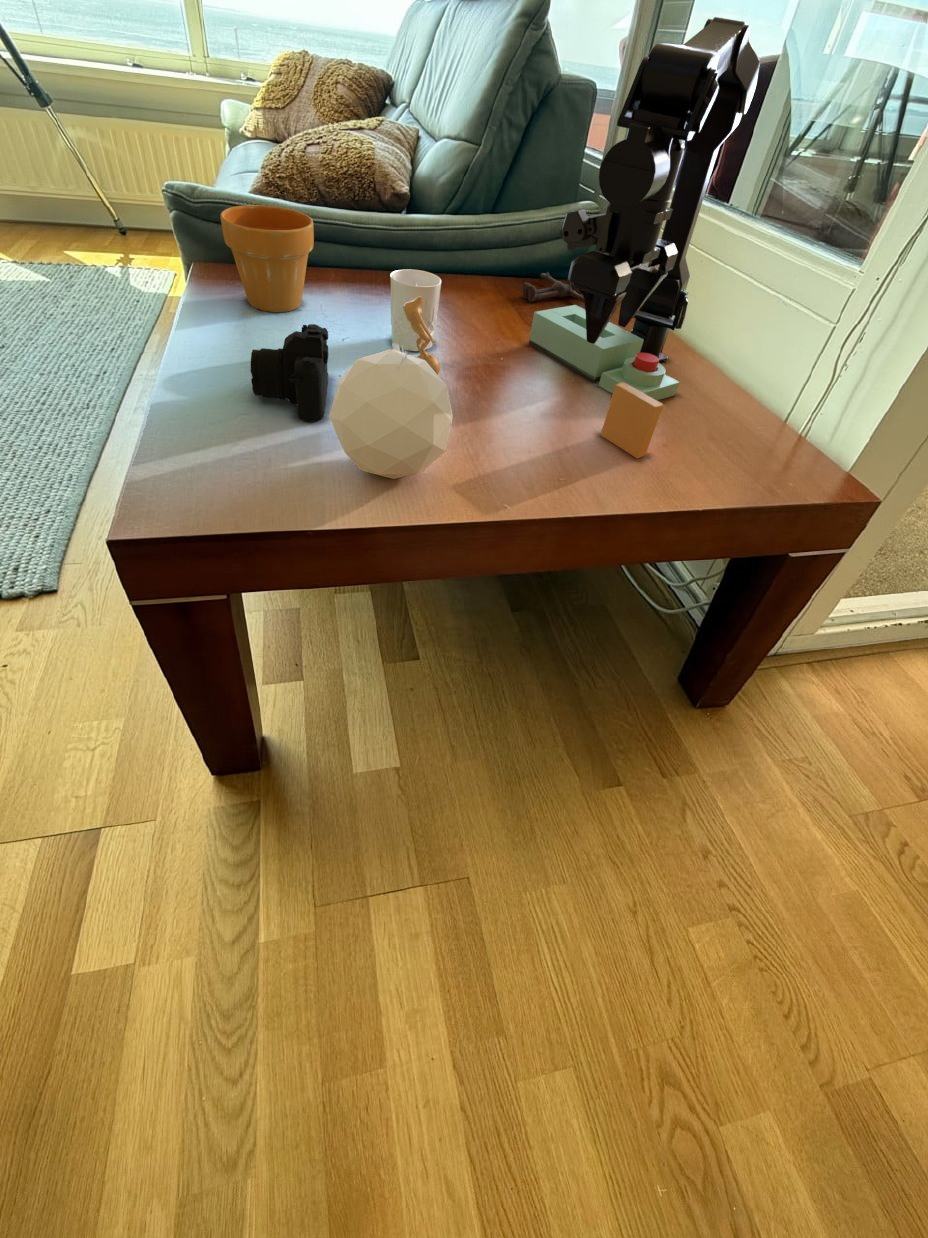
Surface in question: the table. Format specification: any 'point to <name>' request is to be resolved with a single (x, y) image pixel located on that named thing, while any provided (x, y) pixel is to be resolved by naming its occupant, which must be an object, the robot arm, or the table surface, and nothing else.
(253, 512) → the table surface
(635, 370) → the control block
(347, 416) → the geodesic sphere
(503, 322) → the table surface
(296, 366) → the film camera
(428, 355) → the figurine
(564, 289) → the brown humanoid figure
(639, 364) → the button
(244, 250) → the flower pot
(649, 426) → the toast
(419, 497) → the table surface
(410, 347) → the white cup
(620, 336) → the toaster
